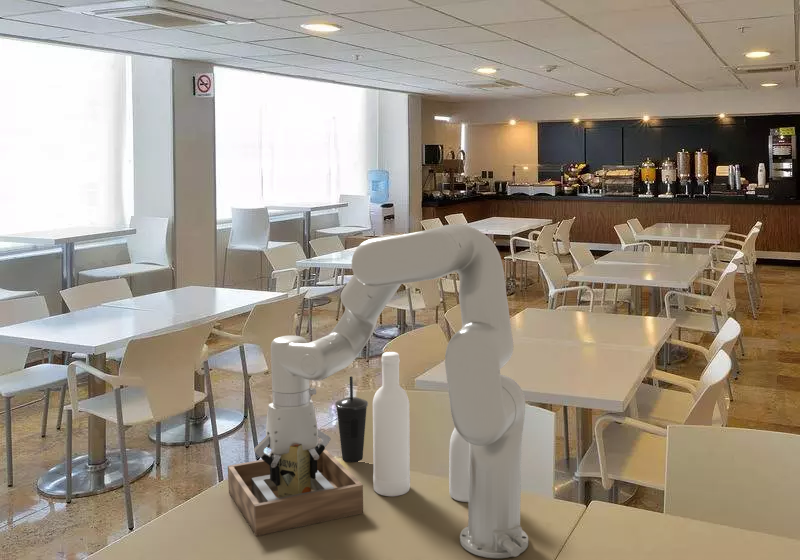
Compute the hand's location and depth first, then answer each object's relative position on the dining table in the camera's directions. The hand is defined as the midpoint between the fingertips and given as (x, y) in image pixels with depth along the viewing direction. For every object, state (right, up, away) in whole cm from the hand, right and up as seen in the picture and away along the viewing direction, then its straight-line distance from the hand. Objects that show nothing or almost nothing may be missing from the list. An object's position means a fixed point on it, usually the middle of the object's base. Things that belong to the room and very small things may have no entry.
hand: (294, 479), depth 164 cm
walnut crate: (0, -5, +1) cm, 5 cm away
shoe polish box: (0, -4, +1) cm, 4 cm away
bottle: (+20, -4, +7) cm, 22 cm away
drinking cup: (+11, -1, +25) cm, 27 cm away
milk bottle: (+36, -4, +4) cm, 37 cm away
